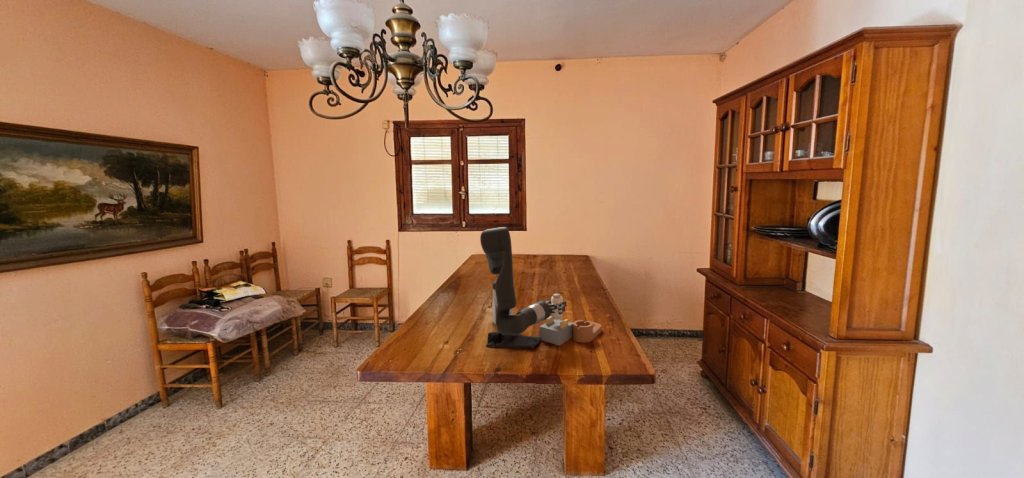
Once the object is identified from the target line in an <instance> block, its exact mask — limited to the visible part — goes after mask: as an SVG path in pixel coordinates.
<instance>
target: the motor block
mask: <svg viewBox="0 0 1024 478" xmlns="http://www.w3.org/2000/svg"><path fill="white" fill-rule="evenodd" d="M544 321H545V322H544V323H543V324H541V325H539V326H538V327H539V329H538V331H539V335H538V337H540V338H541V341H543V342H546V343H550V344H554V345H556V346H561V345H563V344H564V343H566V342H567V341H569V340H570V339H573V321H572V322H571V321H569V318H565V319H564V320H563V319H560V320H554V319H552V318H551V315H550V316H549V318H547V319H545V320H544Z"/></svg>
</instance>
